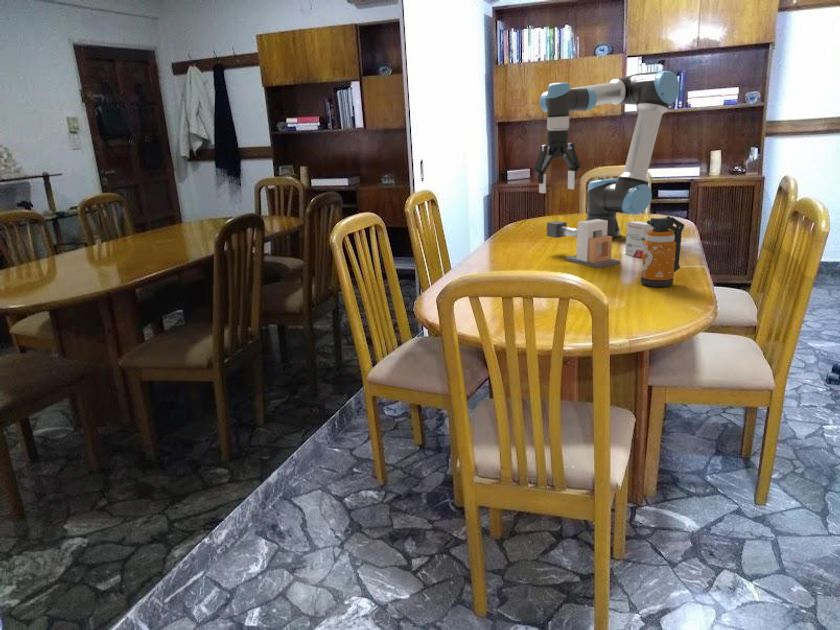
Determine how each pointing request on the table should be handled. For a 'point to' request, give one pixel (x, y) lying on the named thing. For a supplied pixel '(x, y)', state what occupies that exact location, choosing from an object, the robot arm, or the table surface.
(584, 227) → the bearing block
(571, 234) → the shaft
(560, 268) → the table surface
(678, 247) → the canister
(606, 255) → the plate
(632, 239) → the ink box
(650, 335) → the table surface
